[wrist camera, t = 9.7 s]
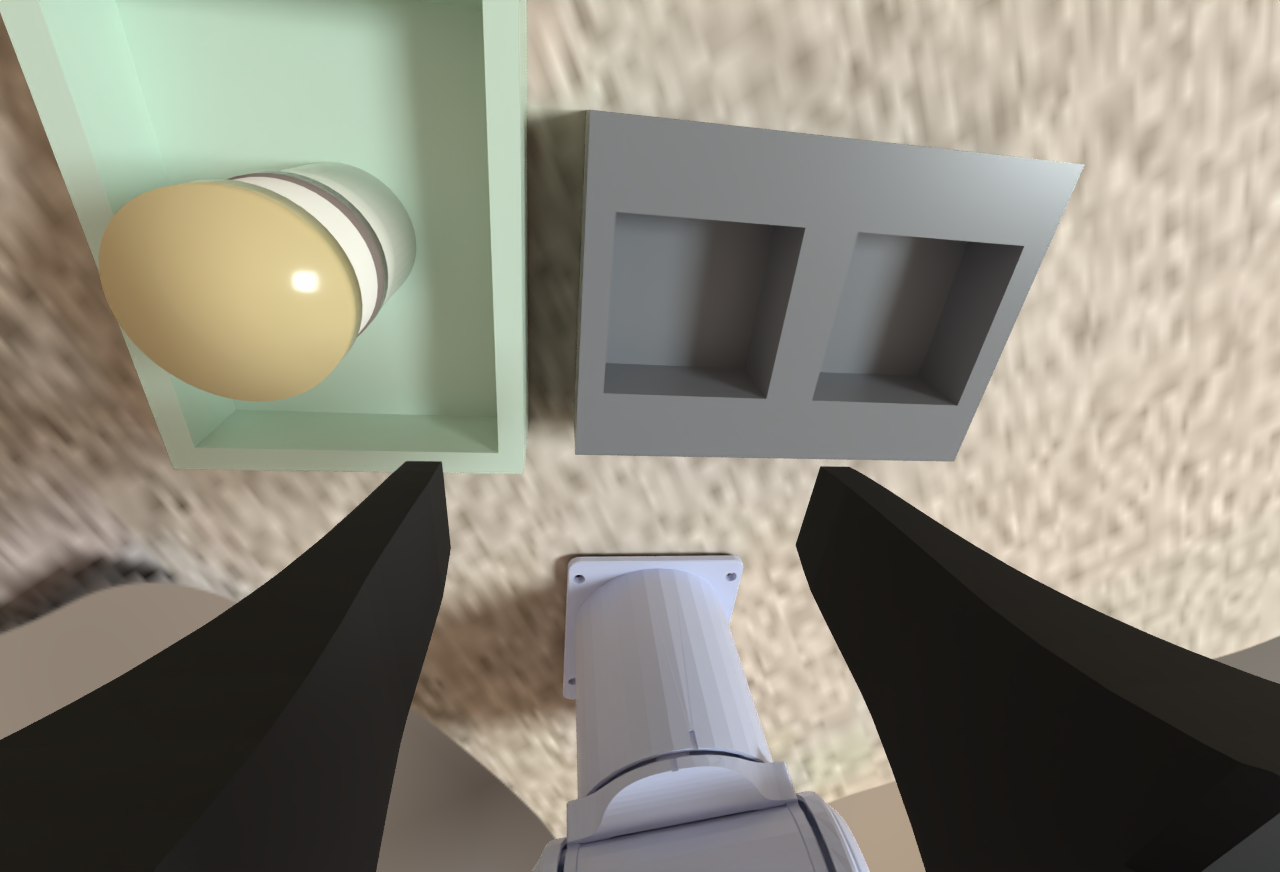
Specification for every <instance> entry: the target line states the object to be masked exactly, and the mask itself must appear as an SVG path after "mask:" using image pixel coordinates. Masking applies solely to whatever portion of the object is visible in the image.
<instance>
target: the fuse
mask: <svg viewBox="0 0 1280 872" xmlns="http://www.w3.org/2000/svg"><path fill="white" fill-rule="evenodd" d="M415 257H416V237H415V232H414V228H413V225H412V222H411V219H410V217H409V215H408V213H407V211H406V209H405V207H404V206H403V204H402V203H401V201H400V200H399V199H398V197H397V196H396V195H395V194H394V193H393V192H392V191H391V189H390V188H389V187H388V186H386V185H385V184H384V183H383V182H382V181H380V180H379V179H378V178H376V177H375V176H373V175H372V174H370V173H368V172H366V171H364V170H362V169H360V168H357V167H354V166H352V165H348V164H344V163H337V162H319V163H313V164H308V165H303V166H298V167H293V168H288V169H283V170H278V171H263V172H256V173H250V174H245V175H240V176H235V177H232V178H229V179H206V180H199V181H193V182H187V183H182V184H176V185H171V186H166V187H161V188H157V189H154V190H151V191H148V192H145V193H143V194H141V195H139V196H137V197H135V198H133V199H132V200H130V201H129V202H128V203H127V204H125V205H124V206H123V207H121V208H120V210H119V211H118V212H117V213H116V214H115V215H114V216H113V217H112V219H111V221H110V222H109V224H108V226H107V227H106V229H105V232H104V235H103V237H102V240H101V244H100V250H99V274H100V280H101V285H102V289H103V292H104V295H105V298H106V301H107V303H108V305H109V307H110V309H111V311H112V313H113V315H114V317H115V318H116V320H117V321H118V323H119V324H120V326H121V328H122V329H123V330H124V332H125V333H126V334H127V335H128V337H129V338H130V339H131V340H132V342H133V343H134V344H135V345H136V346H137V347H138V348H139V349H140V350H141V351H142V352H143V353H144V354H145V355H146V356H148V357H149V358H150V359H151V360H152V361H153V362H155V363H156V364H157V365H158V366H160V367H161V368H163V369H164V370H165V371H167V372H168V373H170V374H171V375H173V376H175V377H176V378H178V379H180V380H182V381H183V382H185V383H187V384H189V385H192V386H194V387H196V388H198V389H200V390H203V391H206V392H209V393H212V394H214V395H218V396H222V397H226V398H230V399H236V400H242V401H257V402H262V401H275V400H281V399H287V398H290V397H293V396H296V395H299V394H301V393H304V392H306V391H308V390H310V389H312V388H313V387H315V386H316V385H318V384H319V383H320V382H322V381H323V380H324V379H325V378H326V377H327V376H328V375H329V374H330V373H331V372H332V371H333V369H334V368H335V367H336V366H337V365H338V364H339V363H340V361H341V360H342V359H343V358H344V357H345V355H346V354H347V353H348V352H349V350H350V349H351V348H352V346H353V344H354V342H355V340H356V338H357V337H358V336H359V335H360V334H361V333H362V332H363V331H364V330H365V329H366V328H367V327H368V326H369V325H370V323H371V322H372V321H373V320H374V319H375V317H376V316H377V315H378V313H379V311H380V310H381V308H382V307H383V306H384V304H385V303H386V302H387V301H388V300H389V299H390V298H391V297H392V296H393V294H394V293H395V292H396V291H397V290H398V289H399V288H400V287H401V285H402V284H403V283H404V282H405V281H406V279H407V278H408V276H409V274H410V273H411V271H412V268H413V265H414V262H415Z"/></svg>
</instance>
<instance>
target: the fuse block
mask: <svg viewBox="0 0 1280 872" xmlns="http://www.w3.org/2000/svg"><path fill="white" fill-rule="evenodd" d="M1084 165H1085V164H1077V163H1068V162H1059V161H1050V160H1041V159H1032V158H1023V157H1014V156H1005V155H996V154H986V153H977V152H968V151H959V150H950V149H941V148H932V147H923V146H914V145H905V144H896V143H886V142H877V141H868V140H859V139H850V138H841V137H832V136H823V135H814V134H805V133H796V132H787V131H777V130H768V129H759V128H750V127H741V126H732V125H723V124H714V123H705V122H696V121H687V120H677V119H668V118H659V117H650V116H641V115H632V114H623V113H614V112H605V111H596V110H586V127H585V152H584V176H583V201H582V225H581V250H580V275H579V299H578V324H577V348H576V373H575V397H574V431H575V455H626V456H681V457H737V458H792V459H847V460H903V461H954V460H955V458H956V455H957V453H958V451H959V449H960V446H961V444H962V442H963V440H964V437H965V435H966V433H967V430H968V428H969V426H970V424H971V421H972V419H973V417H974V415H975V412H976V410H977V408H978V406H979V403H980V401H981V399H982V396H983V394H984V392H985V390H986V387H987V385H988V383H989V381H990V378H991V376H992V374H993V371H994V369H995V367H996V365H997V362H998V360H999V358H1000V356H1001V353H1002V351H1003V349H1004V347H1005V344H1006V342H1007V340H1008V337H1009V335H1010V333H1011V331H1012V328H1013V326H1014V324H1015V322H1016V319H1017V317H1018V315H1019V312H1020V310H1021V308H1022V306H1023V303H1024V301H1025V299H1026V297H1027V294H1028V292H1029V290H1030V288H1031V285H1032V283H1033V281H1034V278H1035V276H1036V274H1037V272H1038V269H1039V267H1040V265H1041V263H1042V260H1043V258H1044V256H1045V253H1046V251H1047V249H1048V247H1049V244H1050V242H1051V240H1052V238H1053V235H1054V233H1055V231H1056V229H1057V226H1058V224H1059V222H1060V219H1061V217H1062V215H1063V213H1064V210H1065V208H1066V206H1067V204H1068V201H1069V199H1070V197H1071V194H1072V192H1073V190H1074V188H1075V185H1076V183H1077V181H1078V179H1079V176H1080V174H1081V172H1082V170H1083V167H1084Z"/></svg>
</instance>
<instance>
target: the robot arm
mask: <svg viewBox="0 0 1280 872" xmlns="http://www.w3.org/2000/svg"><path fill="white" fill-rule="evenodd" d="M796 548H797V551H798V554H799V557H800V560H801V564H802V567H803V570H804V573H805V576H806V579H807V581H808V584H809V587H810V590H811V592H812V594H813V596H814V599H815V601H816V603H817V605H818V607H819V609H820V611H821V613H822V615H823V617H824V619H825V621H826V623H827V625H828V627H829V629H830V631H831V633H832V635H833V637H834V639H835V641H836V643H837V645H838V647H839V649H840V651H841V653H842V655H843V657H844V659H845V661H846V663H847V665H848V667H849V669H850V671H851V673H852V675H853V677H854V679H855V681H856V683H857V685H858V687H859V689H860V691H861V694H862V696H863V698H864V700H865V702H866V705H867V707H868V709H869V711H870V714H871V716H872V718H873V721H874V724H875V726H876V729H877V731H878V734H879V737H880V739H881V742H882V745H883V747H884V750H885V753H886V755H887V758H888V760H889V763H890V766H891V768H892V771H893V774H894V777H895V780H896V782H897V785H898V788H899V791H900V794H901V797H902V800H903V803H904V806H905V809H906V811H907V814H908V817H909V820H910V823H911V826H912V828H913V832H914V835H915V838H916V842H917V845H918V848H919V851H920V854H921V858H922V861H923V863H924V867H925V870H926V872H1280V684H1278V683H1275V682H1272V681H1269V680H1266V679H1263V678H1260V677H1258V676H1254V675H1252V674H1249V673H1247V672H1244V671H1241V670H1238V669H1236V668H1234V667H1231V666H1228V665H1226V664H1223V663H1220V662H1218V661H1215V660H1213V659H1210V658H1207V657H1205V656H1202V655H1199V654H1197V653H1194V652H1192V651H1189V650H1187V649H1184V648H1182V647H1179V646H1177V645H1174V644H1172V643H1170V642H1167V641H1165V640H1162V639H1160V638H1157V637H1155V636H1153V635H1150V634H1148V633H1146V632H1143V631H1141V630H1139V629H1137V628H1134V627H1132V626H1130V625H1128V624H1125V623H1123V622H1121V621H1119V620H1116V619H1114V618H1112V617H1110V616H1107V615H1105V614H1103V613H1101V612H1099V611H1096V610H1094V609H1092V608H1090V607H1088V606H1086V605H1084V604H1082V603H1080V602H1078V601H1075V600H1073V599H1071V598H1069V597H1068V596H1066V595H1064V594H1062V593H1060V592H1058V591H1056V590H1054V589H1052V588H1050V587H1048V586H1046V585H1044V584H1042V583H1040V582H1038V581H1036V580H1034V579H1033V578H1031V577H1029V576H1027V575H1025V574H1023V573H1021V572H1020V571H1018V570H1016V569H1014V568H1012V567H1011V566H1009V565H1007V564H1005V563H1004V562H1002V561H1000V560H999V559H997V558H995V557H993V556H992V555H990V554H988V553H987V552H985V551H983V550H982V549H980V548H978V547H976V546H975V545H973V544H971V543H970V542H968V541H967V540H965V539H963V538H962V537H960V536H959V535H957V534H955V533H954V532H952V531H951V530H949V529H947V528H946V527H944V526H943V525H941V524H940V523H938V522H936V521H935V520H933V519H932V518H930V517H929V516H927V515H926V514H924V513H923V512H921V511H920V510H918V509H916V508H915V507H913V506H912V505H910V504H909V503H907V502H906V501H904V500H903V499H901V498H900V497H898V496H897V495H895V494H894V493H892V492H890V491H889V490H887V489H886V488H884V487H883V486H881V485H880V484H878V483H876V482H875V481H873V480H872V479H870V478H868V477H867V476H865V475H863V474H862V473H860V472H858V471H856V470H854V469H852V468H850V467H820V470H819V473H818V476H817V479H816V482H815V485H814V489H813V492H812V495H811V498H810V501H809V504H808V508H807V511H806V514H805V517H804V520H803V523H802V527H801V530H800V533H799V536H798V539H797V542H796ZM450 549H451V546H450V536H449V526H448V517H447V507H446V497H445V487H444V477H443V467H442V461H406V462H405V463H403V464H402V465H401V466H400V467H399V468H398V469H397V470H396V471H394V472H393V473H392V474H391V475H390V476H389V477H388V478H387V479H386V480H385V481H384V482H383V483H382V484H381V485H380V486H379V487H378V488H376V489H375V490H374V491H373V492H372V493H371V494H370V495H369V496H368V497H367V498H366V499H365V500H364V501H363V502H362V503H361V504H359V505H358V506H357V507H356V508H355V509H354V510H353V511H352V512H351V513H350V514H348V515H347V516H346V517H345V518H344V519H343V520H342V521H341V522H340V523H338V524H337V525H336V526H335V527H334V528H333V529H332V530H331V531H330V532H328V533H327V534H326V535H325V536H324V537H323V538H321V539H320V540H319V541H318V542H317V543H315V544H314V545H313V546H312V547H311V548H309V549H308V550H307V551H306V552H304V553H303V554H302V555H301V556H300V557H298V558H297V559H296V560H295V561H293V562H292V563H291V564H290V565H288V566H287V567H286V568H285V569H284V570H282V571H281V572H280V573H278V574H277V575H276V576H274V577H273V578H272V579H270V580H269V581H268V582H266V583H265V584H264V585H262V586H261V587H259V588H258V589H257V590H255V591H254V592H253V593H251V594H250V595H248V596H247V597H245V598H244V599H242V600H241V601H240V602H238V603H237V604H235V605H234V606H232V607H231V608H229V609H228V610H226V611H225V612H224V613H222V614H221V615H219V616H218V617H216V618H215V619H213V620H212V621H210V622H209V623H207V624H206V625H204V626H202V627H201V628H199V629H197V630H196V631H194V632H193V633H191V634H190V635H188V636H186V637H184V638H183V639H181V640H179V641H178V642H176V643H174V644H173V645H171V646H169V647H168V648H167V649H165V650H163V651H162V652H160V653H158V654H157V655H155V656H153V657H152V658H150V659H148V660H147V661H145V662H143V663H142V664H140V665H138V666H137V667H135V668H133V669H132V670H130V671H128V672H127V673H125V674H123V675H121V676H120V677H118V678H116V679H114V680H112V681H111V682H109V683H107V684H105V685H103V686H102V687H100V688H98V689H96V690H94V691H93V692H91V693H89V694H87V695H85V696H84V697H82V698H80V699H78V700H76V701H74V702H73V703H71V704H69V705H67V706H65V707H63V708H61V709H59V710H57V711H56V712H54V713H52V714H50V715H48V716H46V717H44V718H42V719H41V720H38V721H37V722H34V723H33V724H31V725H29V726H27V727H25V728H23V729H21V730H19V731H17V732H15V733H13V734H11V735H10V736H7V737H5V738H3V739H1V740H0V872H376V869H377V863H378V858H379V852H380V847H381V841H382V836H383V830H384V825H385V820H386V814H387V808H388V803H389V798H390V793H391V788H392V783H393V777H394V773H395V768H396V763H397V758H398V753H399V748H400V743H401V739H402V735H403V731H404V727H405V723H406V720H407V716H408V712H409V709H410V706H411V702H412V699H413V696H414V692H415V689H416V686H417V682H418V679H419V676H420V672H421V669H422V666H423V662H424V659H425V656H426V652H427V649H428V646H429V642H430V639H431V636H432V632H433V629H434V626H435V622H436V619H437V615H438V612H439V609H440V605H441V601H442V598H443V592H444V586H445V581H446V575H447V569H448V562H449V556H450ZM742 571H743V563H742V561H741V559H740V558H739V557H738V556H734V555H720V556H610V557H575V558H573V559H571V560H570V561H569V563H568V574H567V599H566V623H565V647H564V672H563V696H564V697H565V698H566V699H569V700H576V732H577V780H578V799H576V800H572V801H569V802H568V803H567V838H566V837H565V838H560V839H555V840H552V841H550V842H548V844H547V845H546V847H545V848H544V850H543V852H542V856H541V857H540V859H539V860H538V862H537V863H536V865H535V867H534V868H533V870H532V872H870V871H869V869H868V866H867V864H866V862H865V859H864V857H863V855H862V852H861V850H860V848H859V846H858V844H857V842H856V840H855V838H854V836H853V834H852V832H851V830H850V829H849V827H848V825H847V824H846V822H845V821H844V819H843V818H842V817H841V815H840V814H839V813H838V812H837V811H836V810H835V809H833V808H832V807H831V806H830V805H828V804H827V803H826V802H825V801H824V800H823V799H822V798H821V797H820V796H819V795H818V794H816V793H815V792H812V791H806V792H801V793H795V790H794V787H793V784H792V781H791V778H790V775H789V772H788V769H787V766H786V763H785V762H783V761H779V762H773V761H772V757H771V754H770V751H769V748H768V745H767V742H766V739H765V736H764V733H763V729H762V726H761V723H760V720H759V717H758V714H757V711H756V708H755V705H754V701H753V698H752V695H751V692H750V689H749V686H748V683H747V680H746V677H745V673H744V670H743V667H742V664H741V661H740V658H739V655H738V652H737V649H736V645H735V642H734V639H733V636H732V633H731V630H730V627H729V623H730V619H731V615H732V611H733V607H734V603H735V599H736V595H737V591H738V587H739V583H740V579H741V575H742ZM729 573H732V574H731V575H727V574H729ZM576 575H582V577H575V576H576Z"/></svg>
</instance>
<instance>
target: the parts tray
mask: <svg viewBox="0 0 1280 872" xmlns="http://www.w3.org/2000/svg"><path fill="white" fill-rule="evenodd" d="M0 13H1V16H2V18H3V21H4V24H5V26H6V29H7V32H8V34H9V37H10V40H11V42H12V45H13V47H14V50H15V53H16V55H17V58H18V61H19V63H20V66H21V69H22V71H23V74H24V76H25V79H26V82H27V84H28V87H29V90H30V92H31V95H32V97H33V100H34V103H35V105H36V108H37V111H38V113H39V116H40V119H41V121H42V124H43V126H44V129H45V132H46V134H47V137H48V140H49V142H50V145H51V148H52V150H53V153H54V155H55V158H56V161H57V163H58V166H59V169H60V171H61V174H62V177H63V179H64V182H65V184H66V187H67V190H68V192H69V195H70V198H71V200H72V203H73V206H74V208H75V211H76V213H77V216H78V219H79V221H80V224H81V227H82V229H83V232H84V235H85V237H86V240H87V242H88V245H89V248H90V250H91V253H92V256H93V258H94V261H95V263H96V266H97V269H98V271H99V250H100V244H101V240H102V237H103V235H104V232H105V229H106V227H107V226H108V224H109V222H110V221H111V219H112V217H113V216H114V215H115V214H116V213H117V212H118V211H119V210H120V208H121V207H123V206H124V205H125V204H127V203H128V202H129V201H130V200H132V199H133V198H135V197H137V196H139V195H141V194H143V193H145V192H148V191H151V190H154V189H157V188H161V187H166V186H171V185H176V184H182V183H187V182H193V181H199V180H206V179H229V178H232V177H235V176H240V175H245V174H250V173H256V172H263V171H278V170H283V169H288V168H293V167H298V166H303V165H308V164H313V163H319V162H337V163H344V164H348V165H352V166H354V167H357V168H360V169H362V170H364V171H366V172H368V173H370V174H372V175H373V176H375V177H376V178H378V179H379V180H380V181H382V182H383V183H384V184H385V185H386V186H388V187H389V188H390V189H391V191H392V192H393V193H394V194H395V195H396V196H397V197H398V199H399V200H400V201H401V203H402V204H403V206H404V207H405V209H406V211H407V213H408V215H409V217H410V219H411V222H412V225H413V228H414V232H415V237H416V257H415V262H414V265H413V268H412V271H411V273H410V274H409V276H408V278H407V279H406V281H405V282H404V283H403V284H402V285H401V287H400V288H399V289H398V290H397V291H396V292H395V293H394V294H393V296H392V297H391V298H390V299H389V300H388V301H387V302H386V303H385V304H384V306H383V307H382V308H381V310H380V311H379V313H378V315H377V316H376V317H375V319H374V320H373V321H372V322H371V323H370V325H369V326H368V327H367V328H366V329H365V330H364V331H363V332H362V333H361V334H360V335H359V336H358V337H357V338H356V340H355V342H354V344H353V346H352V348H351V349H350V350H349V352H348V353H347V354H346V355H345V357H344V358H343V359H342V360H341V361H340V363H339V364H338V365H337V366H336V367H335V368H334V369H333V371H332V372H331V373H330V374H329V375H328V376H327V377H326V378H325V379H324V380H323V381H322V382H320V383H319V384H318V385H316V386H315V387H313V388H312V389H310V390H308V391H306V392H304V393H301V394H299V395H296V396H293V397H290V398H287V399H281V400H275V401H262V402H257V401H242V400H236V399H230V398H226V397H222V396H218V395H214V394H212V393H209V392H206V391H203V390H200V389H198V388H196V387H194V386H192V385H189V384H187V383H185V382H183V381H182V380H180V379H178V378H176V377H175V376H173V375H171V374H170V373H168V372H167V371H165V370H164V369H163V368H161V367H160V366H158V365H157V364H156V363H155V362H153V361H152V360H151V359H150V358H149V357H148V356H146V355H145V354H144V353H143V352H142V351H141V350H140V349H139V348H138V347H137V346H136V345H135V344H134V343H133V342H132V340H131V339H130V338H129V337H128V335H127V334H126V333H125V332H124V330H123V329H122V328H121V326H120V324H119V323H118V324H119V327H120V329H121V332H122V335H123V337H124V340H125V343H126V345H127V348H128V350H129V353H130V356H131V358H132V361H133V364H134V366H135V369H136V372H137V374H138V377H139V379H140V382H141V385H142V387H143V390H144V393H145V395H146V398H147V401H148V403H149V406H150V408H151V411H152V414H153V416H154V419H155V422H156V424H157V427H158V429H159V432H160V435H161V437H162V440H163V443H164V445H165V448H166V451H167V453H168V456H169V458H170V461H171V464H172V466H173V469H185V470H263V471H342V472H394V471H396V470H397V469H398V468H399V467H400V466H401V465H402V464H403V463H405V462H406V461H442V467H443V473H498V474H524V466H525V457H526V448H527V439H528V218H527V1H526V0H0Z"/></svg>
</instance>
